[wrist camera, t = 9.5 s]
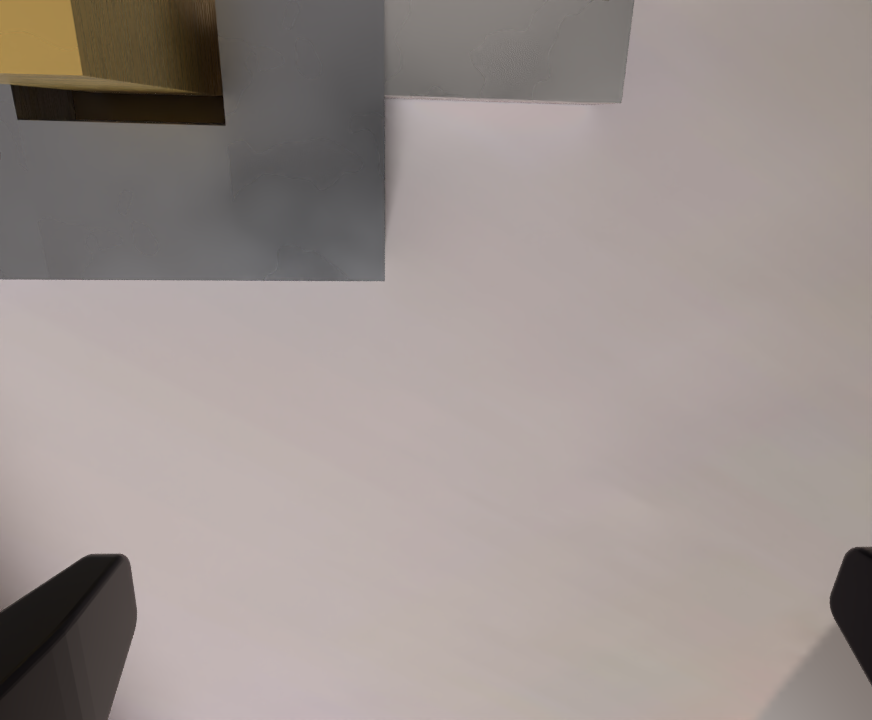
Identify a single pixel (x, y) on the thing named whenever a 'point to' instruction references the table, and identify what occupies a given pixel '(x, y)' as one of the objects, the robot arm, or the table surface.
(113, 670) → the robot arm
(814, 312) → the table surface
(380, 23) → the bracket
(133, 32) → the gold square pillar
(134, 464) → the table surface
